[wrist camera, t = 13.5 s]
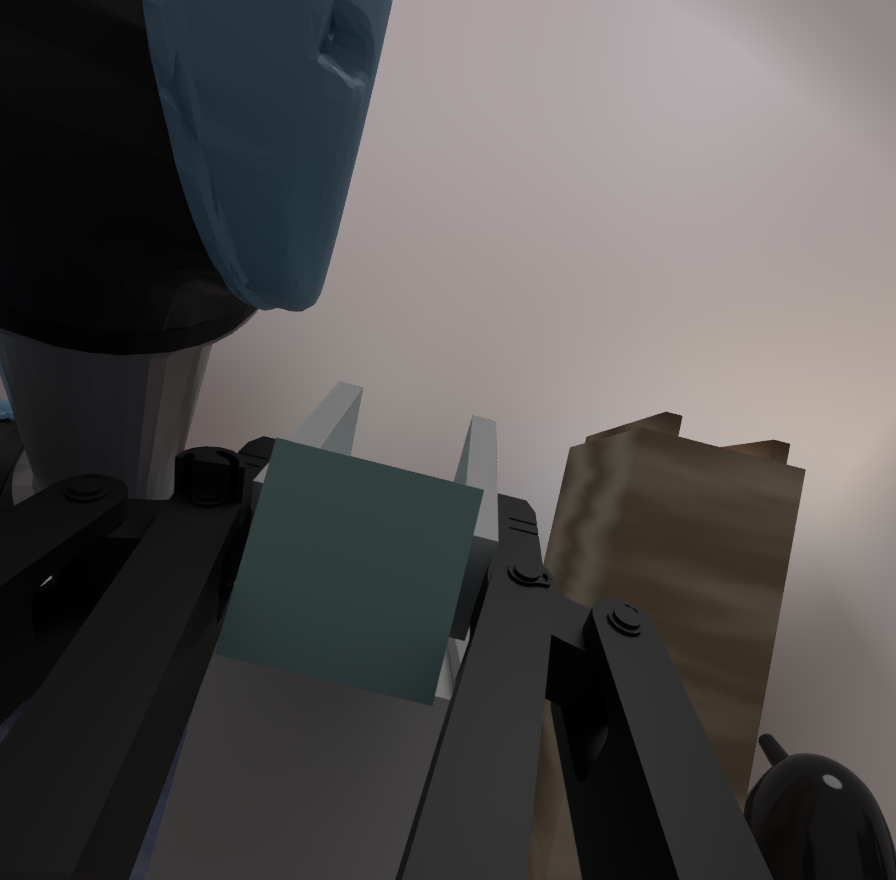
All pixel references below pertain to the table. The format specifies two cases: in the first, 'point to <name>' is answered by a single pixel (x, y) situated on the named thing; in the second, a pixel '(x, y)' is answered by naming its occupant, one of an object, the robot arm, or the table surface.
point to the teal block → (351, 572)
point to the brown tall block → (674, 583)
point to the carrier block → (297, 777)
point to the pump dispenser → (817, 820)
